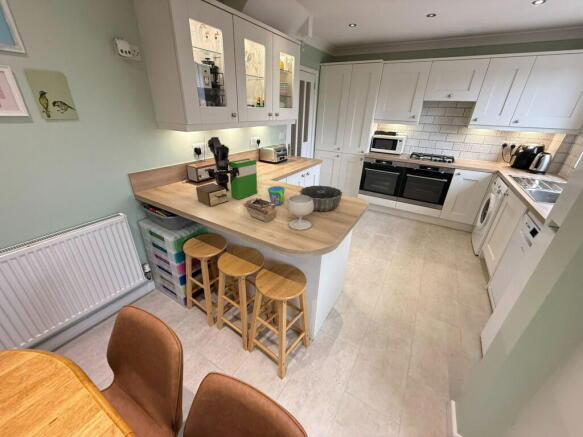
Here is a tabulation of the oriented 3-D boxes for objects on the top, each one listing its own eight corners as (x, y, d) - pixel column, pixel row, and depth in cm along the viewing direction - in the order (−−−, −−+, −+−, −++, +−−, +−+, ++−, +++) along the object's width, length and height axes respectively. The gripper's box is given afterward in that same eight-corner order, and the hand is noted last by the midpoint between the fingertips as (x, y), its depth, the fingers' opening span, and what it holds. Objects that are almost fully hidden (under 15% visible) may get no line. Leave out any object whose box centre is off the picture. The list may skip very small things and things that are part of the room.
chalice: (300, 216, 134) (300, 192, 127) (318, 225, 124) (320, 198, 118) (281, 224, 125) (281, 198, 118) (300, 234, 116) (300, 206, 109)
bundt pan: (309, 196, 164) (309, 182, 159) (346, 202, 153) (347, 188, 148) (292, 209, 143) (292, 194, 138) (333, 218, 132) (334, 202, 127)
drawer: (231, 202, 151) (230, 191, 148) (215, 207, 143) (214, 195, 140) (216, 196, 162) (214, 185, 159) (200, 200, 154) (198, 189, 151)
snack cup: (265, 200, 156) (264, 186, 152) (279, 198, 160) (279, 184, 156) (273, 209, 144) (273, 193, 139) (289, 206, 148) (289, 190, 143)
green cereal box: (249, 190, 174) (248, 158, 164) (257, 193, 170) (256, 159, 160) (231, 196, 161) (228, 161, 151) (238, 199, 157) (236, 163, 147)
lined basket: (258, 227, 123) (257, 210, 118) (238, 215, 136) (236, 199, 131) (278, 219, 131) (277, 203, 126) (257, 209, 144) (256, 194, 140)
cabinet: (226, 201, 156) (224, 187, 151) (209, 206, 147) (207, 192, 143) (214, 196, 164) (212, 182, 160) (198, 200, 156) (195, 187, 152)
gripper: (205, 155, 141) (205, 177, 135) (236, 154, 144) (238, 175, 138) (209, 166, 151) (209, 187, 145) (238, 165, 154) (240, 185, 148)
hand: (224, 183), depth 144 cm, fingers open, 7 cm apart
